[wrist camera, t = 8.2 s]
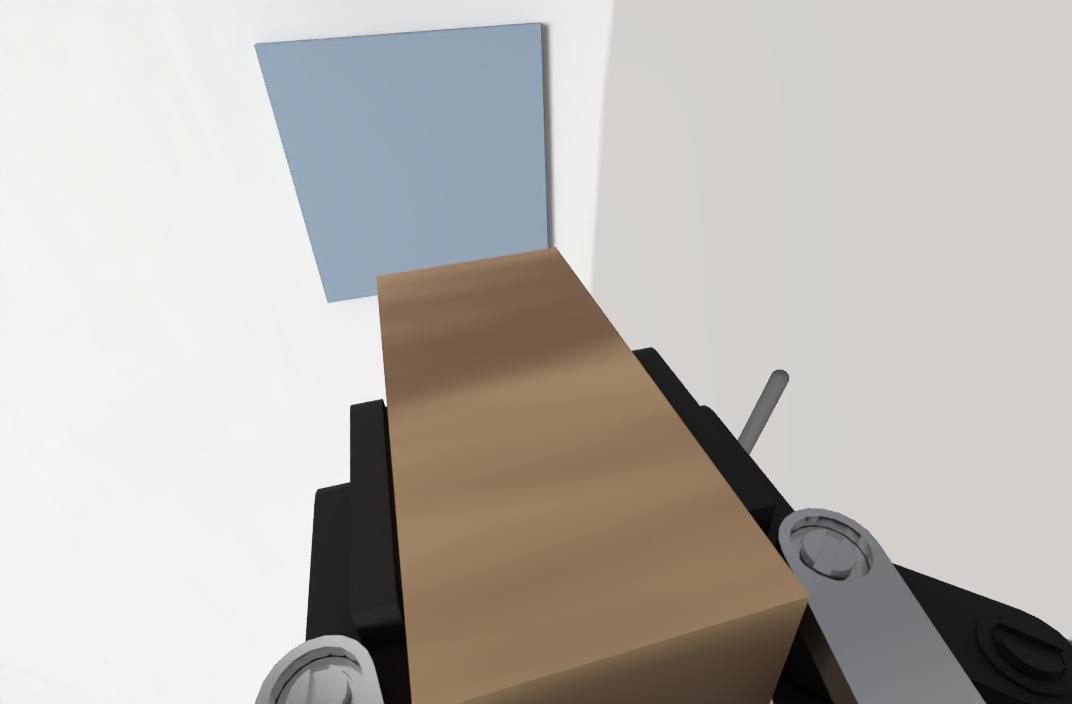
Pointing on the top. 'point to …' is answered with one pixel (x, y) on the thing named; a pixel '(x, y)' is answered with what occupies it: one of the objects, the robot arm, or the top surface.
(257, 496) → the top surface
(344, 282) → the pad
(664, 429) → the plug
